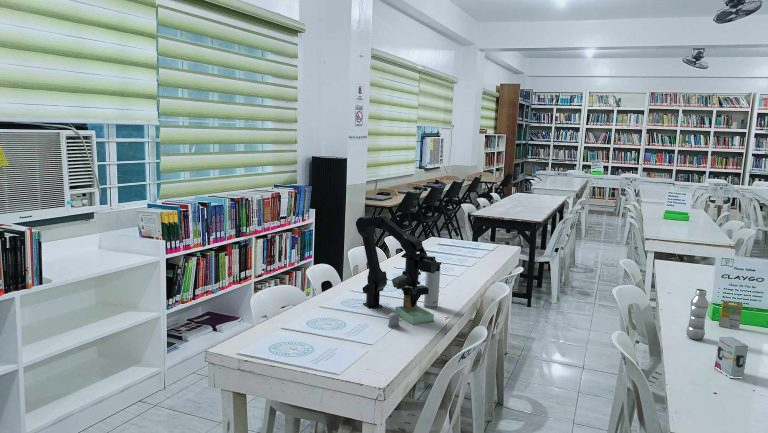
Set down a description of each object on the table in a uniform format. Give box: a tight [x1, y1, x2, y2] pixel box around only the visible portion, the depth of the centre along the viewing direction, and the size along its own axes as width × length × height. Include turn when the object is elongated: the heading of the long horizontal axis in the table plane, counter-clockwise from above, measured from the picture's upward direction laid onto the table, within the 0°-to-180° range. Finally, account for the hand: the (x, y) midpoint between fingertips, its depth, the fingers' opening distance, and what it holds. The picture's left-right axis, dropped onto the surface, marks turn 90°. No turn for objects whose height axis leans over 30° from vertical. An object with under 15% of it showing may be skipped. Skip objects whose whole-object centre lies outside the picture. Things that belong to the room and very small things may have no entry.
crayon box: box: [718, 300, 744, 331], centre depth 244 cm, size 7×3×12 cm, turn 65°
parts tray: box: [394, 304, 435, 325], centre depth 238 cm, size 14×10×3 cm
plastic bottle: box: [686, 288, 710, 341], centre depth 227 cm, size 6×7×20 cm
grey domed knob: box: [387, 312, 401, 329], centre depth 226 cm, size 5×5×5 cm
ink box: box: [714, 336, 749, 378], centre depth 196 cm, size 9×5×12 cm, turn 5°
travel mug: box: [423, 261, 442, 310], centre depth 252 cm, size 6×7×20 cm
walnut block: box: [402, 294, 418, 310], centre depth 240 cm, size 4×4×5 cm
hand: (410, 305), depth 241 cm, fingers closed on walnut block, 4 cm apart
